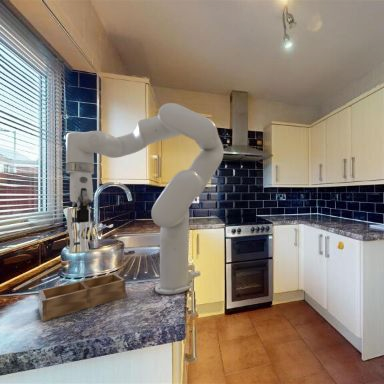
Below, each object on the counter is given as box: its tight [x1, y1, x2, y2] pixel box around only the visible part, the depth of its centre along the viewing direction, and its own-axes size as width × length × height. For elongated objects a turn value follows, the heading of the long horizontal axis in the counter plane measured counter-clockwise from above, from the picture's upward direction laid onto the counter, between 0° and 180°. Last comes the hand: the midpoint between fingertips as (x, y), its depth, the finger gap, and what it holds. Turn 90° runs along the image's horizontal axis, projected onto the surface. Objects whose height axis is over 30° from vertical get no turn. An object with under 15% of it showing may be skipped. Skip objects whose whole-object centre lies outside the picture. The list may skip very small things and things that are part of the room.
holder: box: [38, 272, 126, 323], centre depth 70 cm, size 20×10×5 cm, turn 137°
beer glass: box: [66, 206, 94, 255], centre depth 78 cm, size 7×7×15 cm
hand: (80, 221), depth 78 cm, fingers closed on beer glass, 7 cm apart
